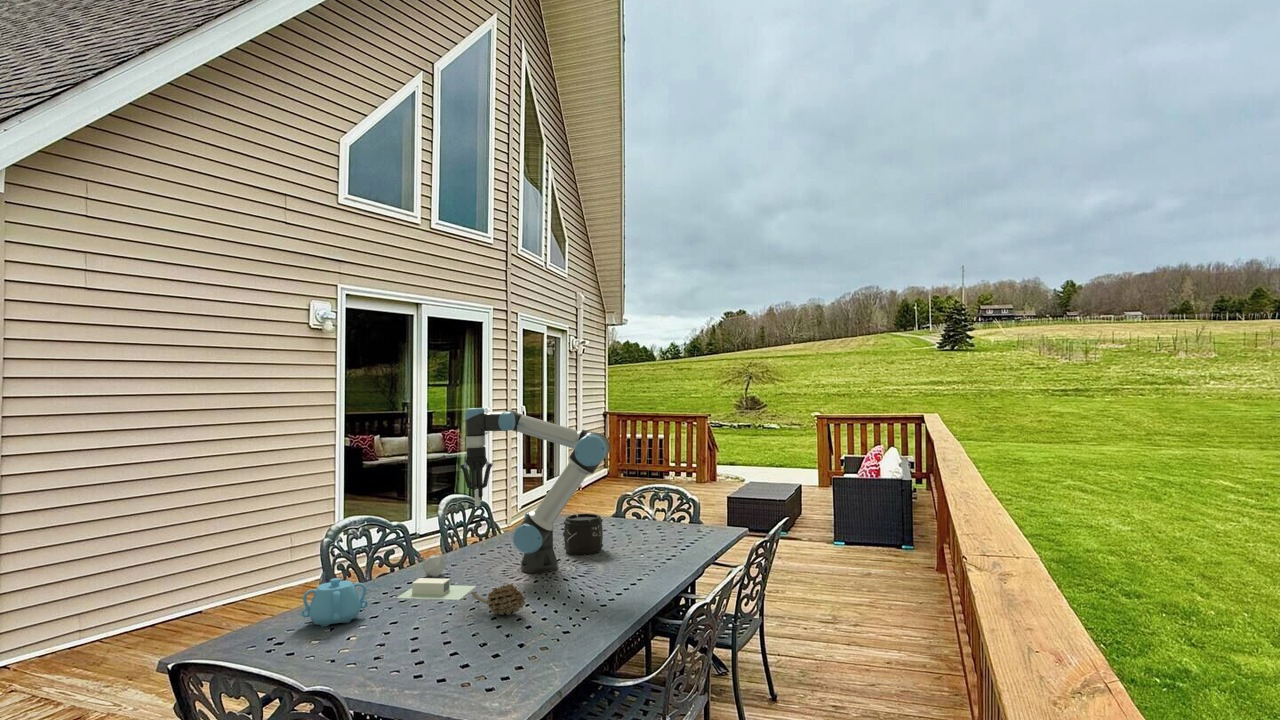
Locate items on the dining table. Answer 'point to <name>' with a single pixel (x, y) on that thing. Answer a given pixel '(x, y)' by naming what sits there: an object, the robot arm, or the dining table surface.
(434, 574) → the die
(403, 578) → the dining table surface
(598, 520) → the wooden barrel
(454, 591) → the green mat
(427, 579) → the beige rectangular block
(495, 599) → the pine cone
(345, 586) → the decorative pot
